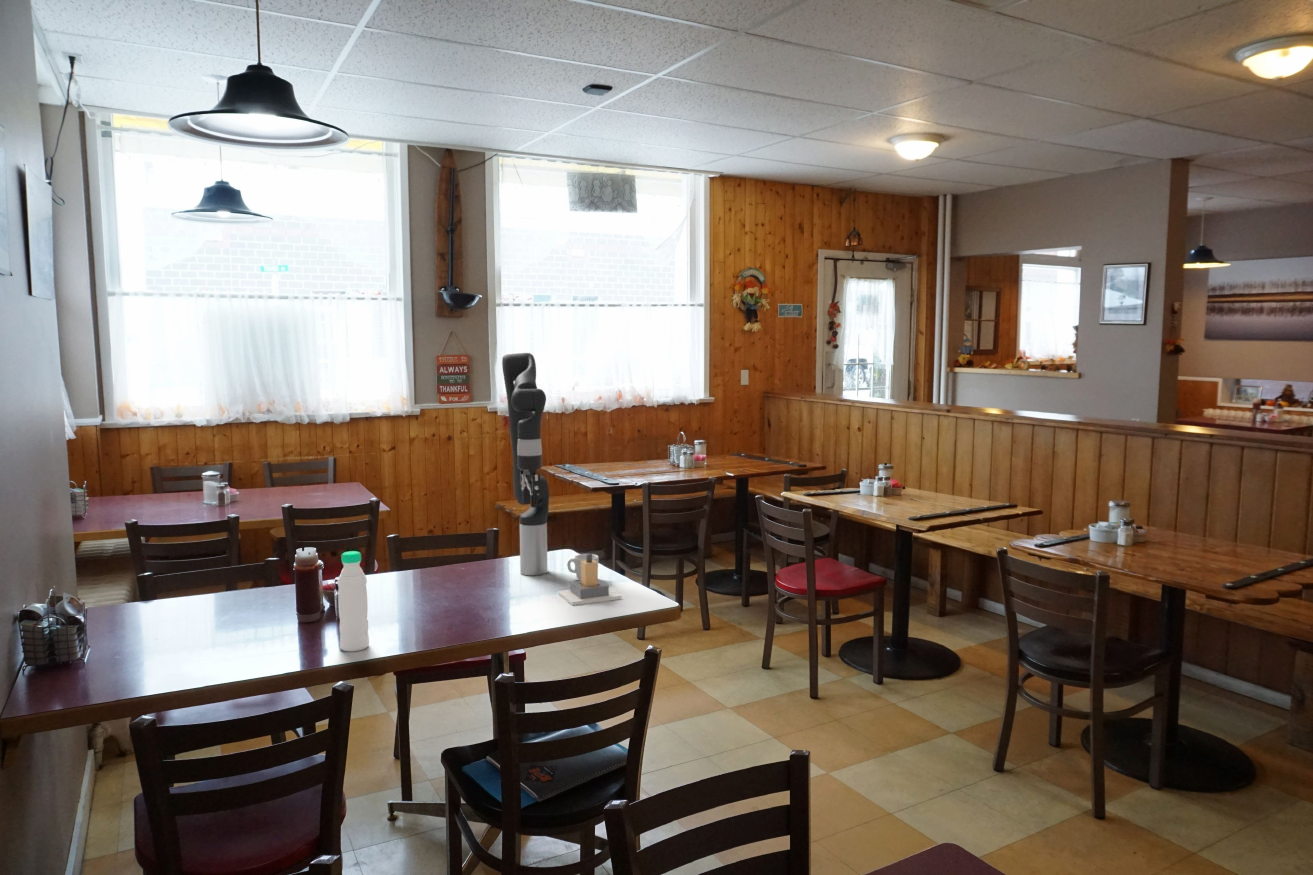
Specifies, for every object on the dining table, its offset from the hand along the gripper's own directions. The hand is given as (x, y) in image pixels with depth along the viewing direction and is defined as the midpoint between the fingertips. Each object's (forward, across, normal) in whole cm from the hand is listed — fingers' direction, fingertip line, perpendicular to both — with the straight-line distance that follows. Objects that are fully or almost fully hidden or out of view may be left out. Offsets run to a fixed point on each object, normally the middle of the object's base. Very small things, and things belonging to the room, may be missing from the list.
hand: (530, 504), depth 271 cm
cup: (+28, +8, -20) cm, 36 cm away
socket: (+28, -12, -15) cm, 34 cm away
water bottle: (+28, -29, +56) cm, 69 cm away
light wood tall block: (+27, -12, -15) cm, 33 cm away
